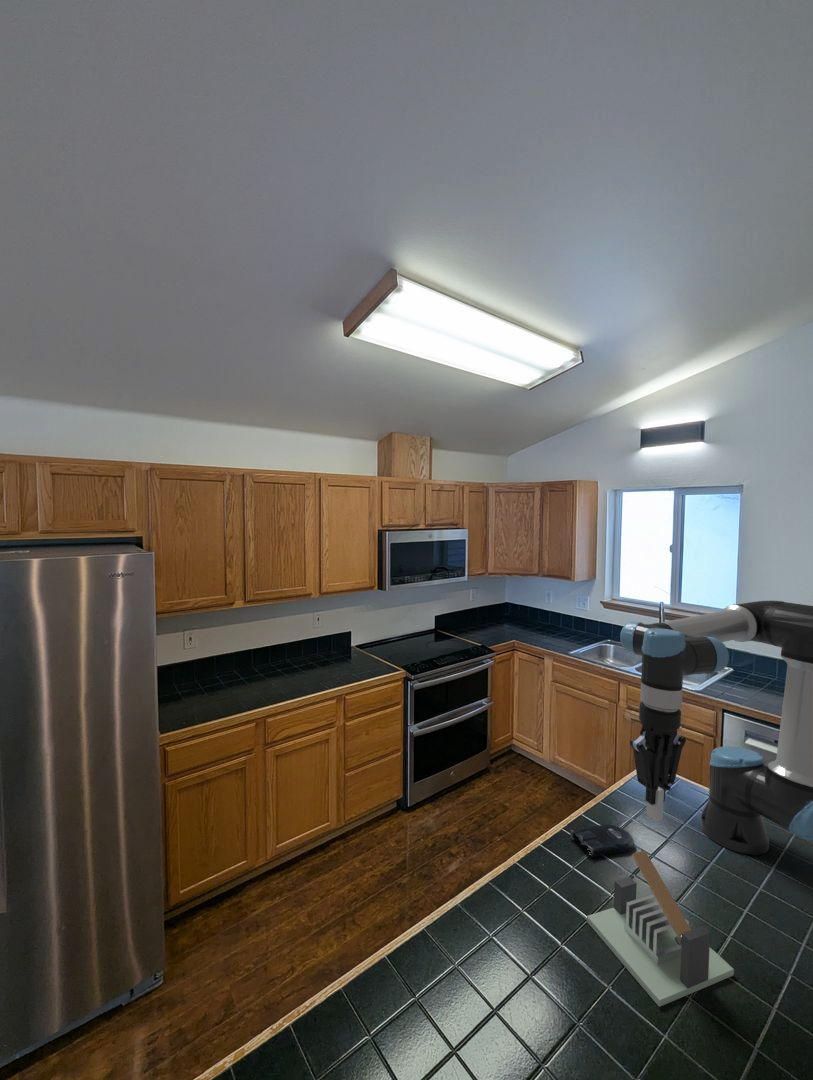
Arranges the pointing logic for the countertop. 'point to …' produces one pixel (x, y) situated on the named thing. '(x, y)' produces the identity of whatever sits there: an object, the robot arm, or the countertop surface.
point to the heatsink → (651, 929)
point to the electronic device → (603, 839)
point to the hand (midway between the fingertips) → (654, 817)
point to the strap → (662, 895)
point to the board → (658, 981)
